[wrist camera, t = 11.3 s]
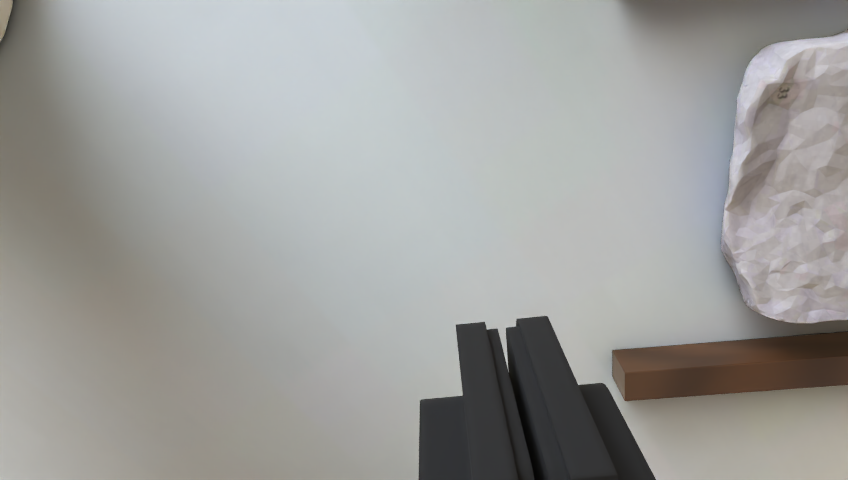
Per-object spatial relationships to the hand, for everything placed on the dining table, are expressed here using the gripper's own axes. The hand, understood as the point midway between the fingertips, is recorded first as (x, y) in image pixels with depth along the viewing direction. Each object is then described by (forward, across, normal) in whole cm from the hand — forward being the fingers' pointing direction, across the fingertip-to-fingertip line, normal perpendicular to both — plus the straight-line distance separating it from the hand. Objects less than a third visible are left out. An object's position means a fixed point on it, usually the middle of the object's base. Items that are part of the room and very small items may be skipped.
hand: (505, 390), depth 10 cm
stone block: (+15, -15, +1) cm, 21 cm away
